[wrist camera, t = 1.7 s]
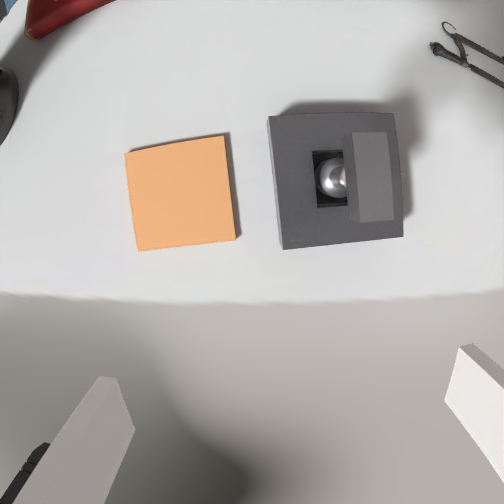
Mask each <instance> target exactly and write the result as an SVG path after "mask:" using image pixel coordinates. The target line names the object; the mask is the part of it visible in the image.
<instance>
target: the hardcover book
mask: <svg viewBox="0 0 504 504" xmlns="http://www.w3.org/2000/svg"><path fill="white" fill-rule="evenodd" d="M113 1H115V0H28V6H27V13H26V22H25V33H24V34H25V35H26V36H27V37H28V38H30V39H32V40H34V41H38V40H39V39H41V38H43V37H44V36H46V35H48V34H49V33H51V32H53V31H54V30H56V29H58V28H60V27H61V26H63V25H65V24H67V23H69V22H71V21H73V20H75V19H76V18H78V17H80V16H82V15H84V14H86V13H89V12H91V11H93V10H95V9H97V8H99V7H101V6H104V5H106V4H108V3H111V2H113Z"/></svg>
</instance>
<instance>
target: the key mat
mask: <svg viewBox="0 0 504 504" xmlns="http://www.w3.org/2000/svg"><path fill="white" fill-rule="evenodd" d="M124 154H125V164H126V173H127V182H128V190H129V198H130V205H131V212H132V219H133V225H134V232H135V238H136V243H137V249H138V252H139V251H147V250H155V249H164V248H172V247H181V246H189V245H198V244H207V243H215V242H224V241H233V240H236V234H235V226H234V217H233V209H232V201H231V192H230V184H229V175H228V166H227V158H226V149H225V140H224V136H217V137H210V138H204V139H197V140H191V141H185V142H179V143H173V144H168V145H162V146H157V147H152V148H147V149H142V150H137V151H133V152H128V153H124Z"/></svg>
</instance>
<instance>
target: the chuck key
mask: <svg viewBox="0 0 504 504" xmlns="http://www.w3.org/2000/svg"><path fill="white" fill-rule="evenodd" d="M341 142H342V150H343V158H333V159H329V160H326V161H324V162H322V163H321V164H320V165H319V166H318V167H317V169H316V171H315V183H316V186H317V188H318V189H319V190H320V191H321V192H322V193H323V194H325V195H327V196H331V197H337V198H343V197H347V202H348V217H349V219H352V220H354V221H357V222H359V223H364V222H375V221H386V220H394V210H393V192H392V179H391V167H390V157H389V148H388V140H387V132H352V133H350V134H347V135H345V136H343V137H341Z"/></svg>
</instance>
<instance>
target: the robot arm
mask: <svg viewBox="0 0 504 504" xmlns="http://www.w3.org/2000/svg"><path fill="white" fill-rule="evenodd" d="M16 1H17V0H0V23H1V21H2V20H3V19H4V17H5V16H7V15H8V14H9V11H10V9H11V8H12V7H13V5H14V4H15V3H16ZM17 102H18V84H17V80H16V77H15V75H14V74H13V73H12V72H11V71H10V70H8V69H5V68H2V67H0V144H1V143H2V142H3V140H4V139H5V137H6V135H7V133H8V131H9V129H10V127H11V124H12V122H13V119H14V116H15V112H16V108H17ZM444 401H445V402H446V403H447V405H448V406H449V407H450V409H451V410H452V411H453V412H454V414H455V415H456V416H457V418H458V419H459V420H460V422H461V423H462V424H463V426H464V427H465V428H466V430H467V431H468V432H469V434H470V435H471V437H472V438H473V439H474V441H475V442H476V443H477V445H478V446H479V448H480V449H481V450H482V452H483V453H484V455H485V456H486V457H487V459H488V460H489V462H490V463H491V465H492V466H493V467H494V469H495V470H496V472H497V473H498V474H499V476H500V477H501V479H502V481H503V482H504V370H503V369H502V368H501V367H500V366H499V365H497V364H496V363H495V362H494V361H493V360H491V358H489V357H488V356H487V355H486V354H484V352H482V351H481V350H480V349H479V348H478V347H476V346H475V345H474V344H473V343H472V344H468V345H465V346H461V347H459V350H458V354H457V358H456V362H455V366H454V369H453V373H452V377H451V380H450V384H449V387H448V390H447V394H446V397H445V400H444ZM134 432H135V428H134V425H133V423H132V420H131V418H130V415H129V413H128V410H127V407H126V405H125V402H124V399H123V396H122V394H121V391H120V388H119V385H118V382H117V379H116V378H111V377H100V376H99V377H98V378H97V380H96V381H95V383H94V384H93V385H92V387H91V388H90V389H89V391H88V392H87V394H86V395H85V396H84V398H83V399H82V401H81V402H80V403H79V405H78V406H77V408H76V409H75V411H74V412H73V413H72V415H71V416H70V417H69V419H68V420H67V422H66V423H65V425H64V426H63V427H62V429H61V430H60V432H59V433H58V435H57V436H56V438H55V439H54V441H53V442H52V443H51V444H48V443H43V444H42V445H40V446H39V447H37V448H36V449H35V450H34V451H33V452H32V453H31V455H30V456H29V458H28V459H27V463H26V462H25V464H24V465H23V466H22V468H21V469H22V470H21V471H19V472H18V474H17V475H16V477H15V478H14V480H13V481H12V483H11V484H10V486H9V487H8V489H7V490H6V492H5V493H4V495H3V496H2V498H1V499H0V504H104V502H105V500H106V497H107V495H108V493H109V490H110V488H111V485H112V483H113V481H114V478H115V476H116V473H117V471H118V469H119V466H120V464H121V462H122V459H123V457H124V455H125V452H126V450H127V448H128V446H129V443H130V441H131V439H132V436H133V434H134Z"/></svg>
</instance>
